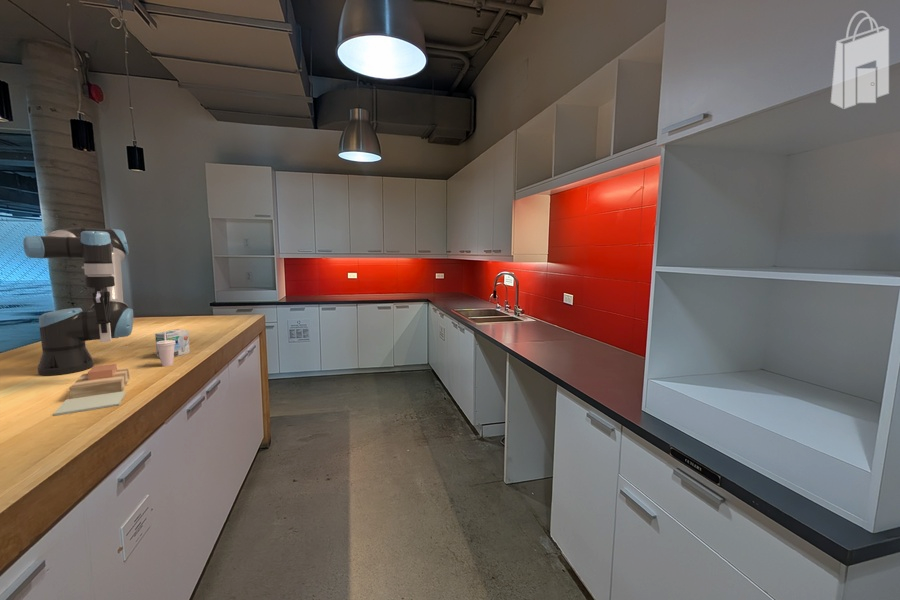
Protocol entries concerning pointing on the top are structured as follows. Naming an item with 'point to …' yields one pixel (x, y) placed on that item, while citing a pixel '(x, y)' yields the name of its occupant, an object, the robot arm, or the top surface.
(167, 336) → the light bulb box
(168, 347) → the smoothie
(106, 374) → the tile
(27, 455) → the top surface
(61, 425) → the top surface
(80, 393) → the deck
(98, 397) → the mat
